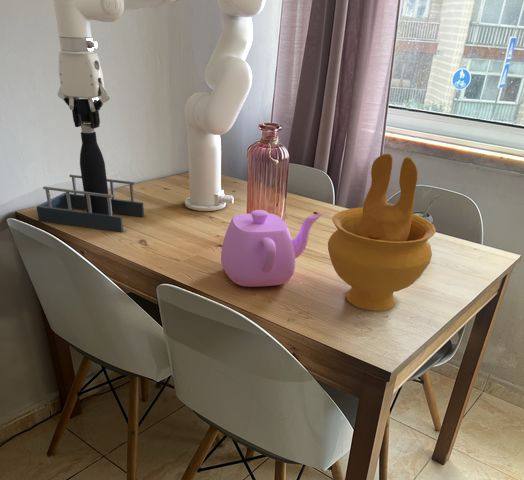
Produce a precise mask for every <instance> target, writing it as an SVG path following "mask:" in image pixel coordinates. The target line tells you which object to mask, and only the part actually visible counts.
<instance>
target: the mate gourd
mask: <svg viewBox="0 0 524 480" xmlns="http://www.w3.org/2000/svg"><path fill="white" fill-rule="evenodd" d="M443 195H444V194H443V193H439V194H438V195H436V196H434V197H433V198H432V199H430V201H429V203H428V205H427V207H426V208H425V209H426V210H425V211H420V210H419V211H417V210H416V211H413V212H412V214H414V215H417V216H419V217H422V218H424V219H426V220H427V221H429V222H430V223H431V224H433V225H434V222H433V221H434V219H433V217H432V215H431V214H430V213H429V210H430V208H431V206H432V205H433V204H434V202H435V200H437V199H438V198H440V197H441V196H443ZM428 240H429V239H428ZM428 240H427V241H428ZM428 242H429V241H428Z"/></svg>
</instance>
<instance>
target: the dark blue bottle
mask: <svg viewBox="0 0 524 480" xmlns="http://www.w3.org/2000/svg"><path fill="white" fill-rule="evenodd" d="M76 105H77V112H78V114H80V115H81V122H82V123H84V124H81V126H80V131H81V132H80V137H81V139H80V140H81V146H80V147H81V148H80V153H79V169H80V176H82V178H81V182H82V188H83V189H82V190H83V191H85V192H93V193H101V194H109V187H108V186H109V185H108V182H107V179H108V178H107V171H106V162H105V159H104V156H103V153H102V151H101V149H100V147H99V144H98V139H97V133H96V131H95V129H92V128H91V124H90V116H89V112H91V109H90V105H89V102H88V98H79V99H77V100H76ZM83 195H84V196H85V203H86V212H88V205H87V198H86V194H83ZM90 200H91V208H92V213H98V214H106V215H109V211H108V202H107V197H102V196H94V195H90Z"/></svg>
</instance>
